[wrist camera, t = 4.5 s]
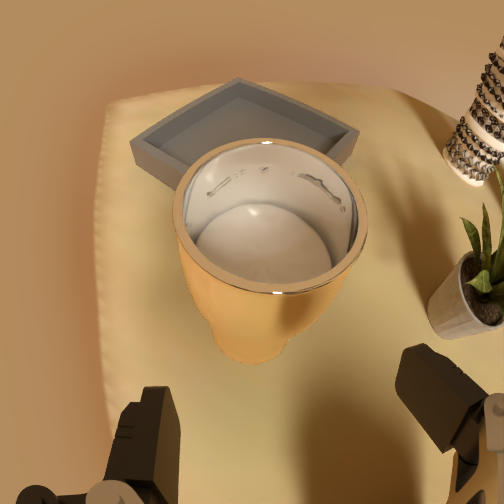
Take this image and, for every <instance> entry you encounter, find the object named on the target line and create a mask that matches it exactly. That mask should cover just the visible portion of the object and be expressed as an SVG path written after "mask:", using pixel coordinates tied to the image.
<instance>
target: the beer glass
mask: <svg viewBox="0 0 504 504" xmlns="http://www.w3.org/2000/svg"><path fill="white" fill-rule="evenodd" d="M172 214H173V223H174V227H175V231H176V234H177V241H178V248H179V254H180V260H181V265H182V269H183V273H184V276H185V280H186V283H187V286H188V289H189V292H190V294H191V296H192V298H193V300H194V302H195V304H196V306H197V308H198V310H199V311H200V313H201V314H202V315H203V317H204V318H205V319H206V320H207V321H208V323H209V324H210V325H211V326H212V333H213V337H214V340H215V342H216V344H217V346H218V347H219V349H220V350H221V351H222V352H223V353H224V354H225V355H226V356H228V357H229V358H231V359H232V360H234V361H237V362H240V363H244V364H260V363H264V362H267V361H269V360H271V359H273V358H274V357H276V356H277V355H278V354H279V353H280V352H281V351H282V350H283V349H284V347H285V346H286V344H287V342H288V340H289V339H291V338H292V337H294V336H296V335H298V334H299V333H301V332H303V331H304V330H305V329H307V328H308V327H309V326H310V325H311V324H312V323H313V322H314V321H315V320H316V319H317V318H318V317H319V316H320V315H321V314H322V313H323V312H324V311H325V310H326V308H327V307H328V306H329V304H330V303H331V302H332V300H333V299H334V297H335V296H336V294H337V293H338V291H339V290H340V288H341V286H342V284H343V283H344V281H345V279H346V277H347V275H348V273H349V271H350V269H351V267H352V265H353V264H354V263H355V261H356V260H357V258H358V257H359V255H360V253H361V251H362V249H363V247H364V244H365V241H366V237H367V232H368V215H367V209H366V205H365V202H364V199H363V197H362V195H361V192H360V191H359V189H358V187H357V185H356V184H355V182H354V181H353V180H352V178H351V177H350V176H349V175H348V174H347V172H346V171H345V170H344V169H343V168H342V167H340V166H339V165H338V164H337V163H336V162H334V161H333V160H332V159H330V158H329V157H327V156H326V155H324V154H322V153H321V152H319V151H317V150H315V149H313V148H310V147H308V146H305V145H302V144H299V143H296V142H292V141H288V140H283V139H275V138H251V139H243V140H238V141H234V142H231V143H227V144H225V145H222V146H220V147H217V148H215V149H213V150H211V151H210V152H208V153H206V154H205V155H203V156H202V157H201V158H199V159H198V160H197V161H196V162H195V163H194V164H193V165H192V166H191V167H190V168H189V169H188V170H187V171H186V173H185V174H184V175H183V177H182V179H181V180H180V182H179V184H178V186H177V189H176V192H175V195H174V200H173V209H172Z"/></svg>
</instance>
